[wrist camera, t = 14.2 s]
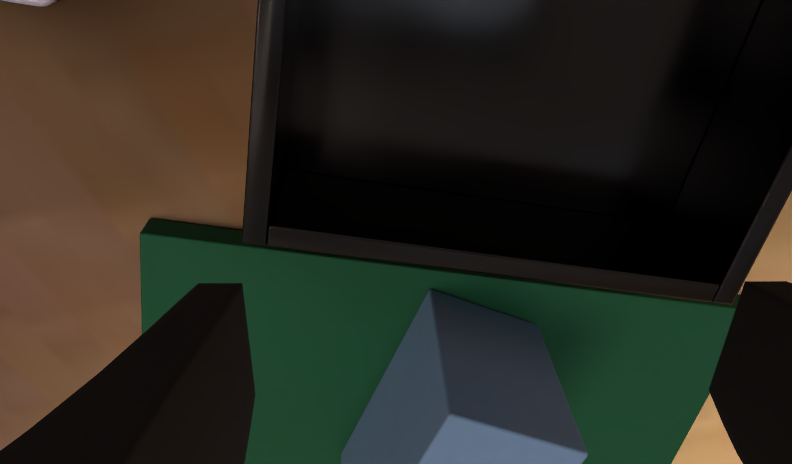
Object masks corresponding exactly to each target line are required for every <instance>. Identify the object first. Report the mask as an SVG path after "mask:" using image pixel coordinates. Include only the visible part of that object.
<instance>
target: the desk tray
mask: <svg viewBox="0 0 792 464" xmlns="http://www.w3.org/2000/svg"><path fill="white" fill-rule="evenodd" d="M791 191H792V0H258V6H257V21H256V36H255V51H254V66H253V81H252V96H251V111H250V126H249V141H248V156H247V172H246V187H245V202H244V217H243V232H242V242H243V243H248V244H256V245H266V243H267V245H268V246H274V247H282V248H290V249H298V250H306V251H314V252H321V253H329V254H337V255H345V256H353V257H361V258H369V259H376V260H384V261H392V262H400V263H408V264H416V265H424V266H431V267H439V268H447V269H455V270H463V271H471V272H479V273H486V274H494V275H502V276H510V277H518V278H526V279H534V280H541V281H549V282H557V283H565V284H573V285H581V286H588V287H596V288H604V289H612V290H620V291H628V292H636V293H643V294H651V295H659V296H667V297H675V298H683V299H691V300H698V301H706V302H711V301H712V302H714V303H722V304H730V305H731V304H732V303H733V302H734V300H735V298H736V296H737V294H738V292H739V290H740V288H741V287H742V285H743V283H744V281H745V279H746V277H747V275H748V273H749V271H750V269H751V267H752V266H753V264H754V262H755V260H756V258H757V256H758V254H759V252H760V250H761V248H762V246H763V245H764V243H765V241H766V239H767V237H768V235H769V233H770V231H771V229H772V227H773V225H774V224H775V222H776V220H777V218H778V216H779V214H780V212H781V210H782V208H783V206H784V205H785V203H786V201H787V199H788V197H789V195H790V193H791Z"/></svg>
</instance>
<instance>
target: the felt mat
mask: <svg viewBox="0 0 792 464" xmlns="http://www.w3.org/2000/svg"><path fill="white" fill-rule="evenodd" d="M242 232H243V231H242V230H234V229H226V228H219V227H211V226H203V225H196V224H188V223H180V222H172V221H165V220H157V219H149V220H148V222H147V224H146V225H145V227H144V228H143V230H142V231H141V233H140V263H141V307H142V334H143V333H144V332H146V331H147V330H148V329H149V328H150V327H151V326H152V325H153V324H154V323H155V322H156V321H158V320H159V319H160V318H161V317H162V316H163V315H164V314H165V313H166V312H167V311H168V310H169V309H171V308H172V307H173V306H174V305H175V304H176V303H177V302H178V301H179V300H180V299H181V298H183V297H184V296H185V295H186V294H187V293H188V292H189V291H190V290H191V289H193V288H194V287H195V286H196V285H197V284H198V283H242V285H243V293H244V302H245V310H246V318H247V327H248V335H249V344H250V352H251V360H252V369H253V377H254V386H255V401H254V407H253V414H252V421H251V428H250V434H249V440H248V446H247V452H246V458H245V463H244V464H341V453H342V451H343V450H344V448H345V446H346V444H347V442H348V440H349V438H350V436H351V435H352V433H353V431H354V429H355V427H356V425H357V423H358V422H359V420H360V418H361V416H362V414H363V412H364V410H365V409H366V407H367V405H368V403H369V401H370V399H371V397H372V395H373V394H374V392H375V390H376V388H377V386H378V384H379V382H380V381H381V379H382V377H383V375H384V373H385V371H386V369H387V368H388V366H389V364H390V362H391V360H392V358H393V356H394V354H395V353H396V351H397V349H398V347H399V345H400V343H401V341H402V340H403V338H404V336H405V334H406V332H407V330H408V328H409V327H410V325H411V323H412V321H413V319H414V317H415V315H416V313H417V312H418V310H419V308H420V306H421V304H422V302H423V300H424V299H425V297H426V295H427V293H428V291H429V290H430V289H432V290H435V291H438V292H441V293H444V294H447V295H450V296H453V297H456V298H459V299H462V300H465V301H468V302H471V303H474V304H477V305H480V306H483V307H486V308H489V309H492V310H495V311H498V312H501V313H504V314H507V315H510V316H512V317H515V318H518V319H521V320H524V321H527V322H530V323H533V324H536V325H537V326H538V328H539V330H540V333H541V335H542V338H543V340H544V343H545V346H546V348H547V351H548V353H549V356H550V358H551V361H552V363H553V366H554V368H555V371H556V374H557V376H558V379H559V381H560V384H561V386H562V389H563V391H564V394H565V396H566V399H567V402H568V404H569V407H570V409H571V412H572V414H573V417H574V419H575V422H576V424H577V427H578V429H579V432H580V435H581V437H582V440H583V442H584V445H585V447H586V450H587V452H588V455H587V457H586V459H585V460H584V461H583V462H582V464H671V463H672V461H673V459H674V457H675V455H676V454H677V452H678V450H679V448H680V446H681V445H682V443H683V441H684V439H685V437H686V435H687V434H688V432H689V430H690V428H691V426H692V425H693V423H694V421H695V419H696V417H697V415H698V414H699V412H700V410H701V408H702V406H703V404H704V403H705V401H706V399H707V397H708V395H709V394H710V392H709V387H710V384H711V381H712V378H713V375H714V372H715V369H716V366H717V363H718V360H719V357H720V354H721V352H722V349H723V346H724V343H725V340H726V337H727V334H728V331H729V328H730V325H731V322H732V319H733V316H734V313H735V310H736V307H737V304H738V301H739V298H740V295H737V296H736V298H735V300H734V302H733V303H732V304H731V305H730V304H722V303H714V302H712V301H711V302H706V301H698V300H691V299H683V298H675V297H667V296H659V295H651V294H643V293H636V292H628V291H620V290H612V289H604V288H596V287H588V286H581V285H573V284H565V283H557V282H549V281H541V280H534V279H526V278H518V277H510V276H502V275H494V274H486V273H479V272H471V271H463V270H455V269H447V268H439V267H431V266H424V265H416V264H408V263H400V262H392V261H384V260H376V259H369V258H361V257H353V256H345V255H337V254H329V253H321V252H314V251H306V250H298V249H290V248H282V247H274V246H268V245H267V243H266V245H256V244H248V243H243V242H242Z"/></svg>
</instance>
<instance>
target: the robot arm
mask: <svg viewBox="0 0 792 464" xmlns="http://www.w3.org/2000/svg"><path fill="white" fill-rule="evenodd" d="M1 1H7V2H14V3H20V4H26V5H32V6H38V7H39V6H48V5H50V4H52V3H54V2H56V1H58V0H1ZM709 392H710V394H711V396H712V399H713V401H714V404H715V406H716V408H717V411H718V413H719V415H720V418H721V420H722V423H723V425H724V427H725V429H726V431H727V433H728V435H729V438H730V440H731V442H732V444H733V446H734V448H735V450H736V452H737V454H738V456H739V457H740V459H741V461H742V463H743V464H792V283H789V282H787V281H779V282H745V283H744V286H743V289H742V292H741V295H740V298H739V301H738V304H737V307H736V310H735V313H734V316H733V319H732V322H731V325H730V328H729V331H728V334H727V337H726V340H725V343H724V346H723V349H722V352H721V354H720V357H719V360H718V363H717V366H716V369H715V372H714V375H713V378H712V381H711V384H710V387H709ZM254 401H255V386H254V377H253V369H252V360H251V352H250V344H249V335H248V327H247V318H246V310H245V302H244V293H243V285H242V283H198V284H197V285H196V286H195V287H194V288H193V289H191V290H190V291H189V292H188V293H187V294H186V295H185V296H184V297H183V298H181V299H180V300H179V301H178V302H177V303H176V304H175V305H174V306H173V307H172V308H171V309H169V310H168V311H167V312H166V313H165V314H164V315H163V316H162V317H161V318H160V319H159V320H158V321H156V322H155V323H154V324H153V325H152V326H151V327H150V328H149V329H148V330H147V331H146V332H144V333H143V334H142V335H141V336H140V337H139V338H138V339H137V340H136V341H135V342H133V343H132V344H131V345H130V346H129V347H128V348H127V349H126V350H124V351H123V352H122V353H121V354H120V355H119V356H118V357H117V358H115V359H114V360H113V361H112V362H111V363H110V364H109V365H107V366H106V367H105V368H104V369H103V370H102V371H101V372H100V373H98V374H97V375H96V376H95V377H93V378H92V379H91V380H90V381H89V382H87V383H86V384H85V385H84V386H82V387H81V388H80V389H79V390H77V391H76V392H75V393H74V394H72V395H71V396H70V397H69V398H67V399H66V400H65V401H64V402H63V403H61V404H60V405H59V406H58V407H56V408H55V409H54V410H53V411H51V412H50V413H49V414H48V415H46V416H45V417H44V418H43V419H42V420H40V421H39V422H38V423H37V424H35V425H34V426H33V427H32V428H30V429H29V430H28V431H26V432H25V433H24V434H22V435H21V436H20V437H18V438H17V439H16V440H14V441H13V442H12V443H10V444H9V445H8V446H6V447H5V448H4V449H2V450H1V451H0V464H244V463H245V458H246V452H247V446H248V440H249V434H250V428H251V421H252V414H253V407H254Z"/></svg>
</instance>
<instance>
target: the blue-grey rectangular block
mask: <svg viewBox="0 0 792 464" xmlns="http://www.w3.org/2000/svg"><path fill="white" fill-rule="evenodd" d="M587 455H588V452H587V450H586V447H585V445H584V442H583V440H582V437H581V435H580V432H579V429H578V427H577V424H576V422H575V419H574V417H573V414H572V412H571V409H570V407H569V404H568V402H567V399H566V396H565V394H564V391H563V389H562V386H561V384H560V381H559V379H558V376H557V374H556V371H555V368H554V366H553V363H552V361H551V358H550V356H549V353H548V351H547V348H546V346H545V343H544V340H543V338H542V335H541V333H540V330H539V328H538V326H537V325H536V324H533V323H530V322H527V321H524V320H521V319H518V318H515V317H512V316H510V315H507V314H504V313H501V312H498V311H495V310H492V309H489V308H486V307H483V306H480V305H477V304H474V303H471V302H468V301H465V300H462V299H459V298H456V297H453V296H450V295H447V294H444V293H441V292H438V291H435V290H432V289H430V290H429V291H428V293H427V295H426V297H425V299H424V300H423V302H422V304H421V306H420V308H419V310H418V312H417V313H416V315H415V317H414V319H413V321H412V323H411V325H410V327H409V328H408V330H407V332H406V334H405V336H404V338H403V340H402V341H401V343H400V345H399V347H398V349H397V351H396V353H395V354H394V356H393V358H392V360H391V362H390V364H389V366H388V368H387V369H386V371H385V373H384V375H383V377H382V379H381V381H380V382H379V384H378V386H377V388H376V390H375V392H374V394H373V395H372V397H371V399H370V401H369V403H368V405H367V407H366V409H365V410H364V412H363V414H362V416H361V418H360V420H359V422H358V423H357V425H356V427H355V429H354V431H353V433H352V435H351V436H350V438H349V440H348V442H347V444H346V446H345V448H344V450H343V451H342V453H341V464H582V462H583V461H584V460H585V459H586V457H587Z"/></svg>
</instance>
